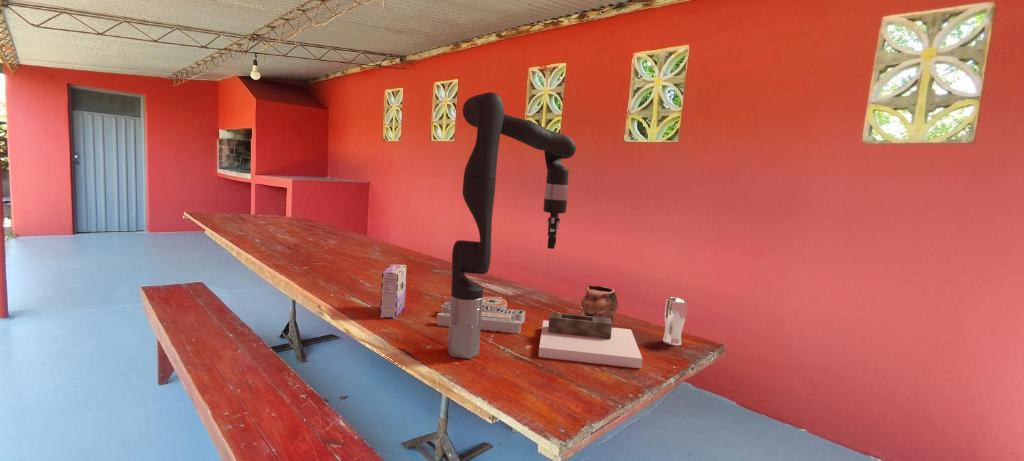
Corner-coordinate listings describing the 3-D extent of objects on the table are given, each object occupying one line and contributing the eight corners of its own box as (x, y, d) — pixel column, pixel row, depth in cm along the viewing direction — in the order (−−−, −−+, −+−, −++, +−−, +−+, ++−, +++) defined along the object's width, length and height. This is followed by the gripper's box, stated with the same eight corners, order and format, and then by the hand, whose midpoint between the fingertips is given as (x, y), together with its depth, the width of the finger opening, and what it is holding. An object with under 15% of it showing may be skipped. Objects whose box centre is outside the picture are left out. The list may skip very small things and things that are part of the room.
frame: (609, 332, 163) (610, 318, 162) (610, 339, 157) (612, 324, 157) (548, 326, 165) (549, 312, 165) (548, 332, 159) (549, 317, 159)
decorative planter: (593, 315, 192) (597, 280, 190) (623, 322, 186) (627, 286, 184) (571, 327, 175) (575, 289, 173) (604, 335, 169) (608, 296, 167)
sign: (433, 314, 167) (452, 292, 197) (432, 326, 168) (452, 302, 197) (522, 323, 164) (528, 299, 194) (521, 335, 165) (527, 309, 194)
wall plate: (641, 368, 143) (643, 347, 142) (538, 356, 146) (540, 335, 145) (630, 337, 169) (632, 319, 168) (542, 328, 172) (544, 310, 171)
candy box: (389, 306, 184) (391, 263, 182) (405, 307, 184) (407, 264, 182) (379, 318, 170) (381, 271, 168) (396, 319, 170) (398, 272, 168)
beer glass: (657, 340, 168) (662, 298, 166) (668, 337, 172) (673, 295, 170) (675, 347, 163) (680, 303, 161) (686, 343, 167) (692, 301, 165)
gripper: (566, 200, 155) (562, 251, 157) (567, 198, 169) (563, 244, 171) (542, 198, 156) (538, 248, 158) (545, 196, 170) (541, 242, 172)
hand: (551, 246), depth 164 cm, fingers open, 8 cm apart
